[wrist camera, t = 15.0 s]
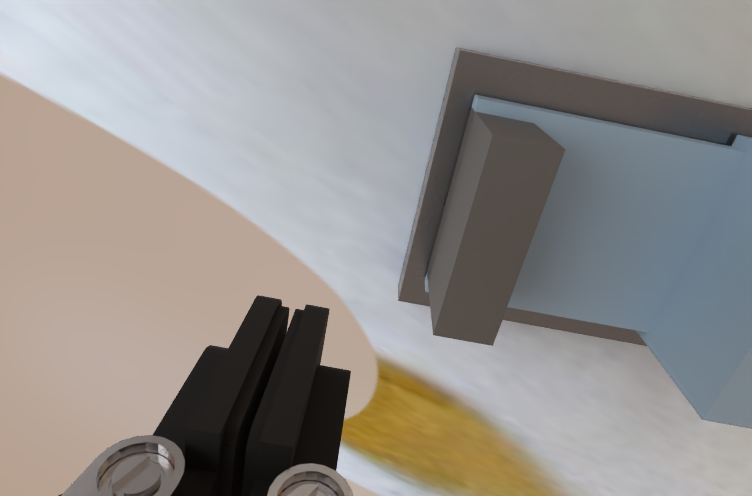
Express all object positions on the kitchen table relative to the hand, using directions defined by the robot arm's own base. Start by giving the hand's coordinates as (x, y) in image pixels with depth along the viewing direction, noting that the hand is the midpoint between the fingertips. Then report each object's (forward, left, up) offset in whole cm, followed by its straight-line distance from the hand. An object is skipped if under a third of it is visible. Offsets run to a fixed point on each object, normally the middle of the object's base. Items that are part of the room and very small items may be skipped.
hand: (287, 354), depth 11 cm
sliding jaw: (+12, +1, -12) cm, 17 cm away
